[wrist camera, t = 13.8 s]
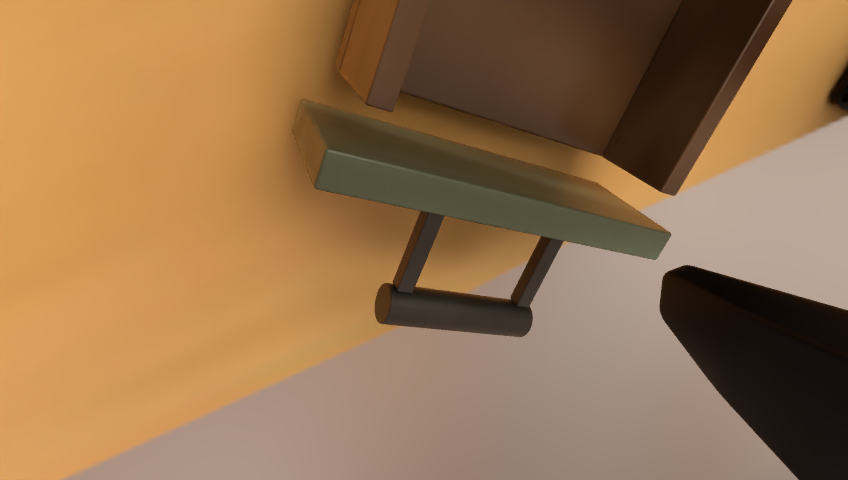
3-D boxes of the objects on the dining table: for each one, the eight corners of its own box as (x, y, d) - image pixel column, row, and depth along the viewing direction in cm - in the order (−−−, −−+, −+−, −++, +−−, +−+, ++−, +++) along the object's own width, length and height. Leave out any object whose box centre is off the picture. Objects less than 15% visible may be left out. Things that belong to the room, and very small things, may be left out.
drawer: (539, 290, 26) (597, 356, 22) (259, 249, 20) (271, 330, 16) (760, -128, 19) (904, -142, 15) (433, -393, 13) (531, -532, 9)
